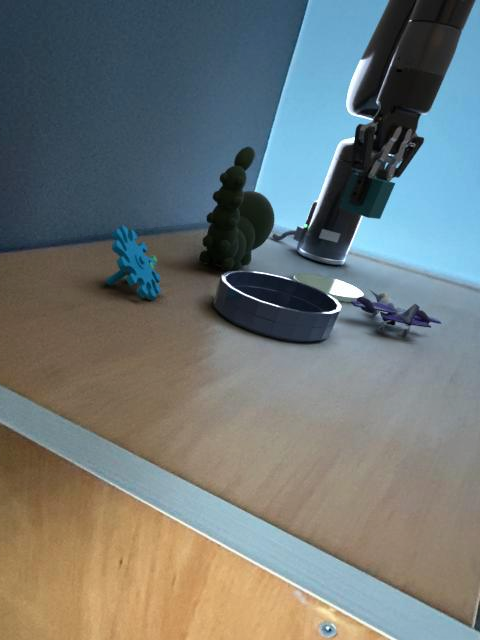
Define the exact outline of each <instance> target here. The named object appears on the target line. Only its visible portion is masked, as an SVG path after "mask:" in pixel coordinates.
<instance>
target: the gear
mask: <svg viewBox="0 0 480 640" xmlns="http://www.w3.org/2000/svg"><path fill="white" fill-rule="evenodd" d="M111 237H112V239H113V240H114V241H113V242H112V243H111V249H112V251H113V252H114V253H115V254H117V255H118V256H119V257H118V258H117V259H116V265H117V267H118V269H119V270H117V271H116V272H115V273H113V274H112V275H110V276H109V277H107V278H106V279H105V282H106V284H107V285H108V286H109V287H111V286H113V285H114V284H116V283H118V282H119V281H120V280H122V279H123V278H125V281H126V282H127V284H128V285H129V287H132V286H134V285H135V284H138V287H137V288H136V293H137V294H138V295H139V297H141V298H142V299H143V298H144V297H146V299H148V300H149V301H152V300H155V299H156V298H157V295H158V294H159V293H161V292H162V288H161V287H160V285H159V283H160V282H161V275H160V274H159V273H158V272H156V271H155V270H154V269H155V268H156V267H157V264H156V263H158V258H157V256H156V255H155V254H153V255H151V256H149V257H148V255H146V254H145V253H146V252H148V251H149V249H148V246H147V245H146V243H145V241H141V242H140V243H138V244H137V241H136V240H138V235H137V233H136V232H135V230H134V229H131V230H129V229H128V228H127V227H126V226H125V225H124V224H121V225H120V226H119V227H117V229H115V230H114V232H111Z"/></svg>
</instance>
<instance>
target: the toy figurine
mask: <svg viewBox="0 0 480 640" xmlns="http://www.w3.org/2000/svg"><path fill="white" fill-rule="evenodd" d="M255 159H256V151H255V149H254V148H253V147H251V146H246V147H242V148H241V149H240V150H239V151H238V153H236V155H235V158H234V161H233V165H232V166H230V167H228V168H227V169H226V170H225V171H224V172H222V173H221V174H220V175H219V182H220V183H221V186H220V188H219V189H218V190H217V191H214V192H213V194H212V200H213V201H214V202H215V203H216V206H215V207H214V209H213V210H212V211H211V212H209V213H208V214H207V215H206V222H207V223H208V224H210V225H209V226H208V229H207V231H206V235H205V236H204V237H203V238H202V245H203V247H204V248H205V250H202V251H200V254H199V256H198V259H199V262H200V263H202V264H204V265H209V266H210V265H212V264H214V265H216V266H218V267H219V268H221V269H222V270H223V271H229V272H230V271H241V270H242V267H246V266H248V265H249V264H250V263H251V261H252V252H253V251H255V250H256V249H257V248H260V247H261V246H262V245H263V244H264V243H265V242H266V241H267V240H268V238H269V237H270V235H271V233H272V231H273V229H274V226H275V211H274V208H273V205H272V203H271V202H270V199H268V198H267V197H266V196H265V195H263V194H262V193H261V192H258V191H253V190H245V191H244V190H243V189H244V187H245V186H246V184H247V178H248V177H247V173H246V171H247V170H248V169H249V168H250V167H251V166H252V165H253V162H254V160H255Z"/></svg>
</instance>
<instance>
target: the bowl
mask: <svg viewBox="0 0 480 640" xmlns="http://www.w3.org/2000/svg"><path fill="white" fill-rule="evenodd" d="M216 288H217V289H216V291H215V295H214V298H213V305H214V308H215V309H216V310H217V311H218V312H219V313H220V315H221V316H223V317H224V318H225V319H226V320H228V321H229V322H231V323H233V324H234V325H236V326H238V327H241V328H243V329H245V330H247V331H249V332H253V333H255V334H257V335H258V334H259V335H261V336H265V337H269V338H272V339H277V340H281V341H286V342H287V341H288V342H294V343H295V342H297V343H311V342H312V343H313V342H317V341H322V340H325V339H327V338H329V337H330V335H331V334H332V331H333V328H334V326H335V324H336V322H337V319H338V317H339V315H340V312H341V310H342V308H343V306H342V304H341V303H340V301H337V300H336V299H334V298H333V297H332V296H330V295H329V294H327V293H325V292H323V291H321V290H319V289H316V288H314V287H312V286H309V285H306V284H304V283H301V282H298V281H295V280H293V278H292V279H291V278H289V277H284V276H280V275H276V274H271V273H267V272H261V271H253V270H240V271H230V270H229V271H225V272H224V273H223V274H222V275H220V278H219V281H218V285H217V287H216Z"/></svg>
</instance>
